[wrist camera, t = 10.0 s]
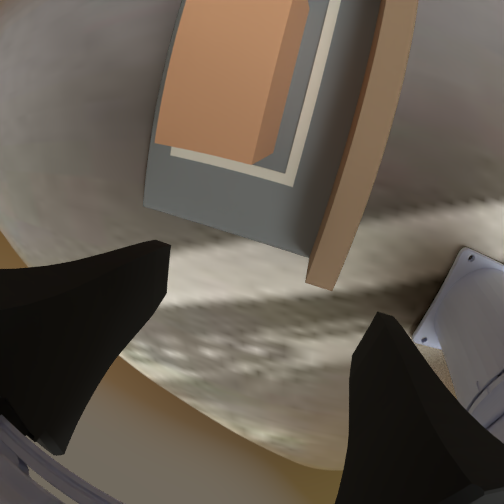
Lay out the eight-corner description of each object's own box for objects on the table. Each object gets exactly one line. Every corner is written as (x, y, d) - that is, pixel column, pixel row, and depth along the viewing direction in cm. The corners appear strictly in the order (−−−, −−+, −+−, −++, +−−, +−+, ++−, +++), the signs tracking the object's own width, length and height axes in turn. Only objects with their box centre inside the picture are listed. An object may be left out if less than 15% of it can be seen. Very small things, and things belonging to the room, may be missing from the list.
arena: (409, -26, 9) (423, -53, 6) (332, 259, 18) (332, 290, 15) (209, -58, 11) (186, -83, 7) (149, 203, 20) (116, 220, 17)
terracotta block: (273, 153, 16) (251, 164, 11) (199, 135, 16) (154, 143, 12) (309, 8, 12) (301, -32, 7) (232, -2, 12) (198, -36, 8)
